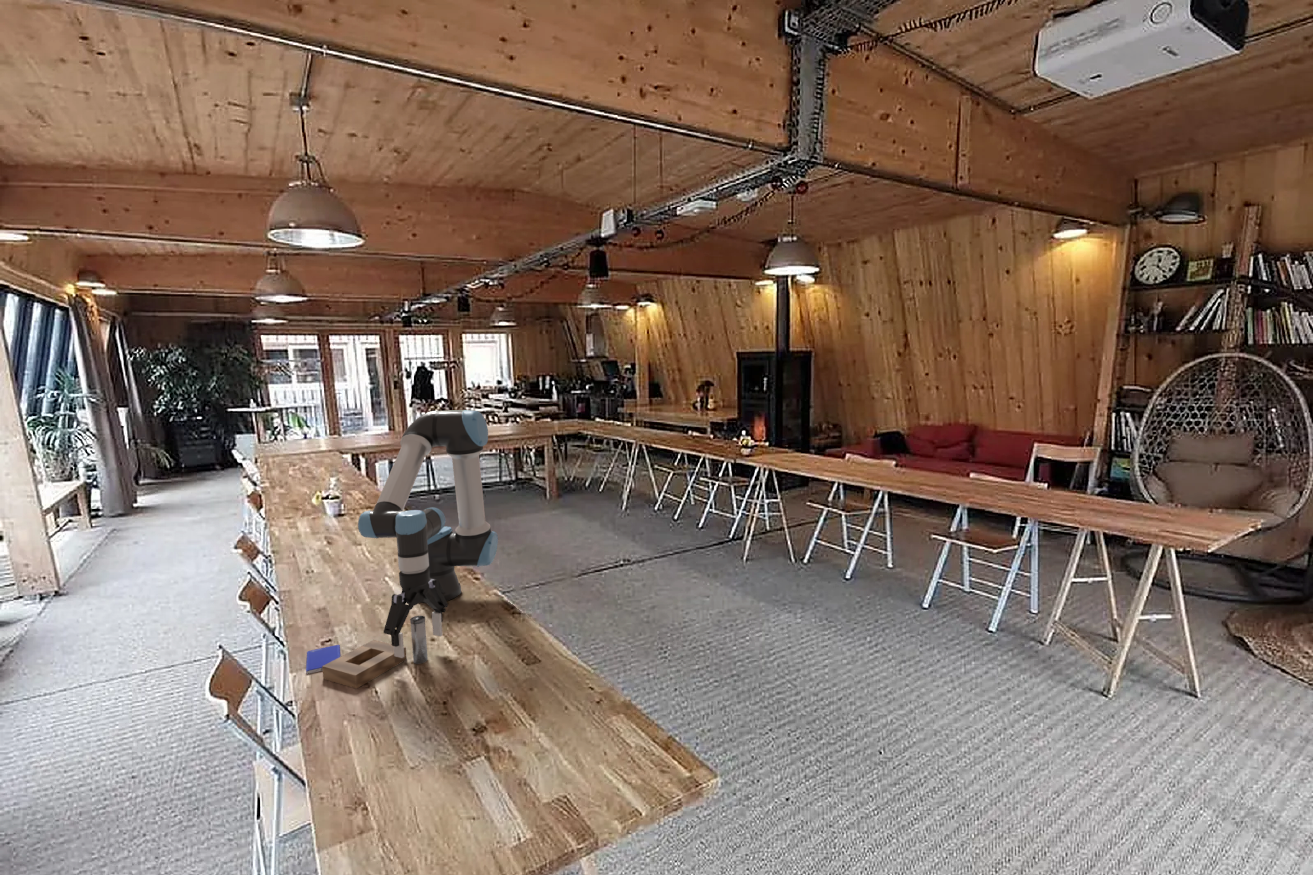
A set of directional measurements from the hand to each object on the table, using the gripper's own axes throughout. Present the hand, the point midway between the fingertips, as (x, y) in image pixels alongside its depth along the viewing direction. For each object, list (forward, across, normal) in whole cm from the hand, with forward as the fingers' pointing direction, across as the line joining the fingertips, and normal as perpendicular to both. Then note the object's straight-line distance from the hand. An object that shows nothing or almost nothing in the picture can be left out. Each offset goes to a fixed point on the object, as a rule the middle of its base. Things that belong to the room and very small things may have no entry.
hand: (419, 645), depth 165 cm
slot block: (+4, +9, -10) cm, 14 cm away
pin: (+4, 0, 0) cm, 4 cm away
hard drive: (+5, +10, -25) cm, 27 cm away
